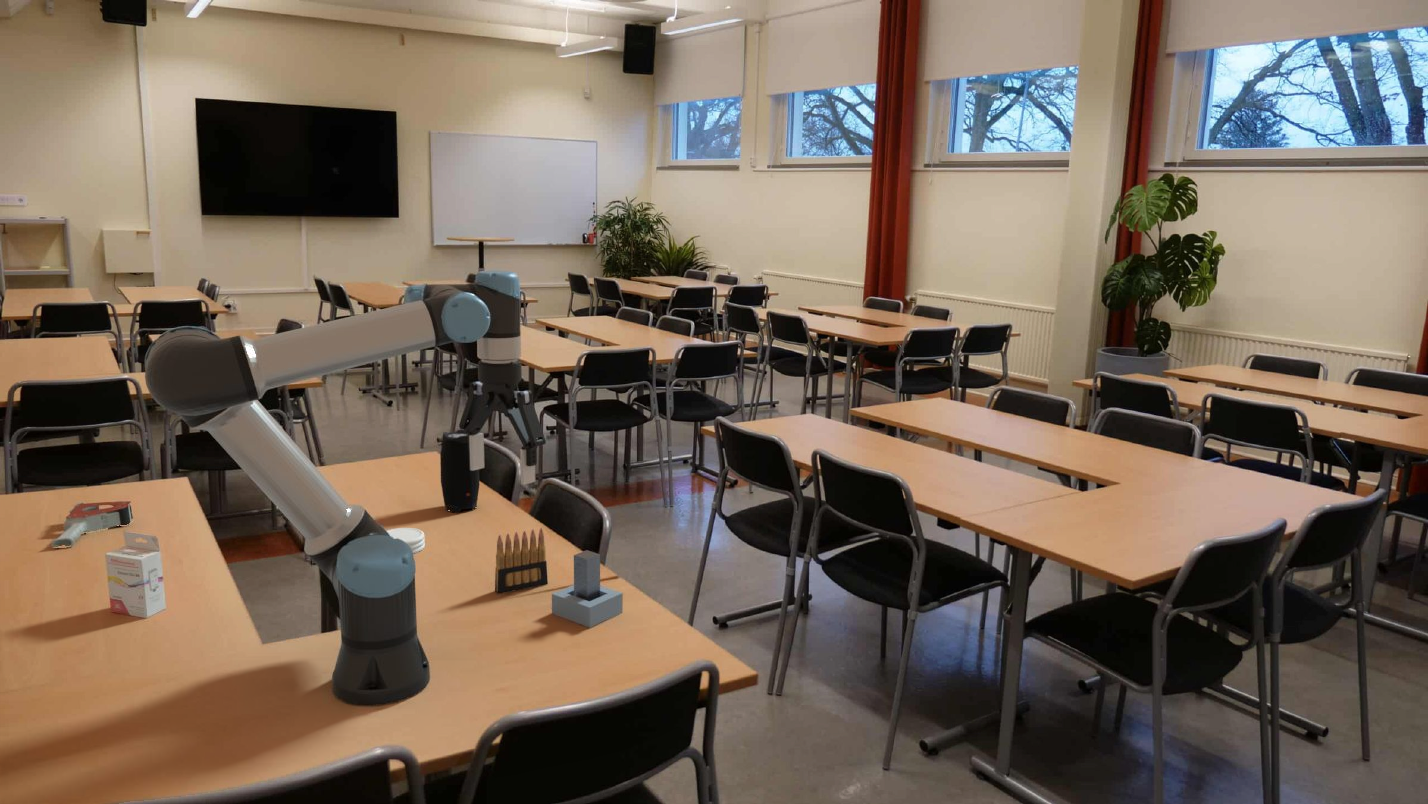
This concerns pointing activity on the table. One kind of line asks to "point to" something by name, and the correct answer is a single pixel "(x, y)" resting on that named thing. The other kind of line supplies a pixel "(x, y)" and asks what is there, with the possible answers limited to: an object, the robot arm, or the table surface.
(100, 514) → the tape dispenser
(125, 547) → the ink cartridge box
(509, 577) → the ammunition clip
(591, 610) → the slot block
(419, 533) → the white ridged disc
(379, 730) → the table surface
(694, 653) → the table surface
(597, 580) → the steel pin
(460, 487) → the portable speaker
